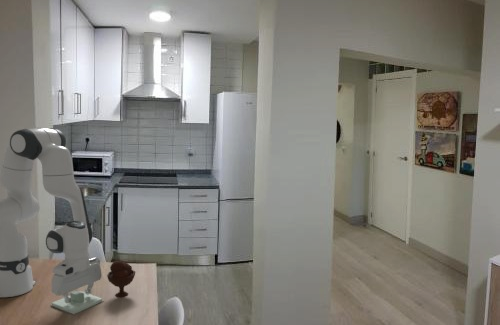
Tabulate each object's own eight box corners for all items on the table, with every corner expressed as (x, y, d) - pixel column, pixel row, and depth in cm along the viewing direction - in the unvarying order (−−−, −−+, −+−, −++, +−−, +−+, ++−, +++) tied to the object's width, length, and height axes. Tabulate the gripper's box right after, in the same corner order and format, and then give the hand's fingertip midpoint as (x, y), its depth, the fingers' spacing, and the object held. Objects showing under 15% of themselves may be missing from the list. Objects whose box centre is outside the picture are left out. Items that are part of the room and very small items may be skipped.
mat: (49, 306, 160) (49, 305, 160) (81, 294, 172) (81, 293, 172) (73, 316, 153) (73, 315, 152) (104, 302, 165) (104, 301, 164)
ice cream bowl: (127, 302, 165) (127, 266, 163) (102, 299, 167) (101, 263, 165) (140, 291, 175) (140, 257, 173) (115, 289, 177) (115, 255, 176)
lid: (51, 305, 160) (51, 295, 159) (80, 293, 171) (80, 283, 170) (73, 314, 153) (73, 303, 153) (102, 301, 164) (102, 291, 164)
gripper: (94, 254, 171) (94, 287, 172) (48, 269, 153) (49, 305, 155) (104, 257, 168) (105, 290, 169) (59, 273, 150) (60, 310, 152)
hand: (78, 298), depth 162 cm, fingers open, 8 cm apart
